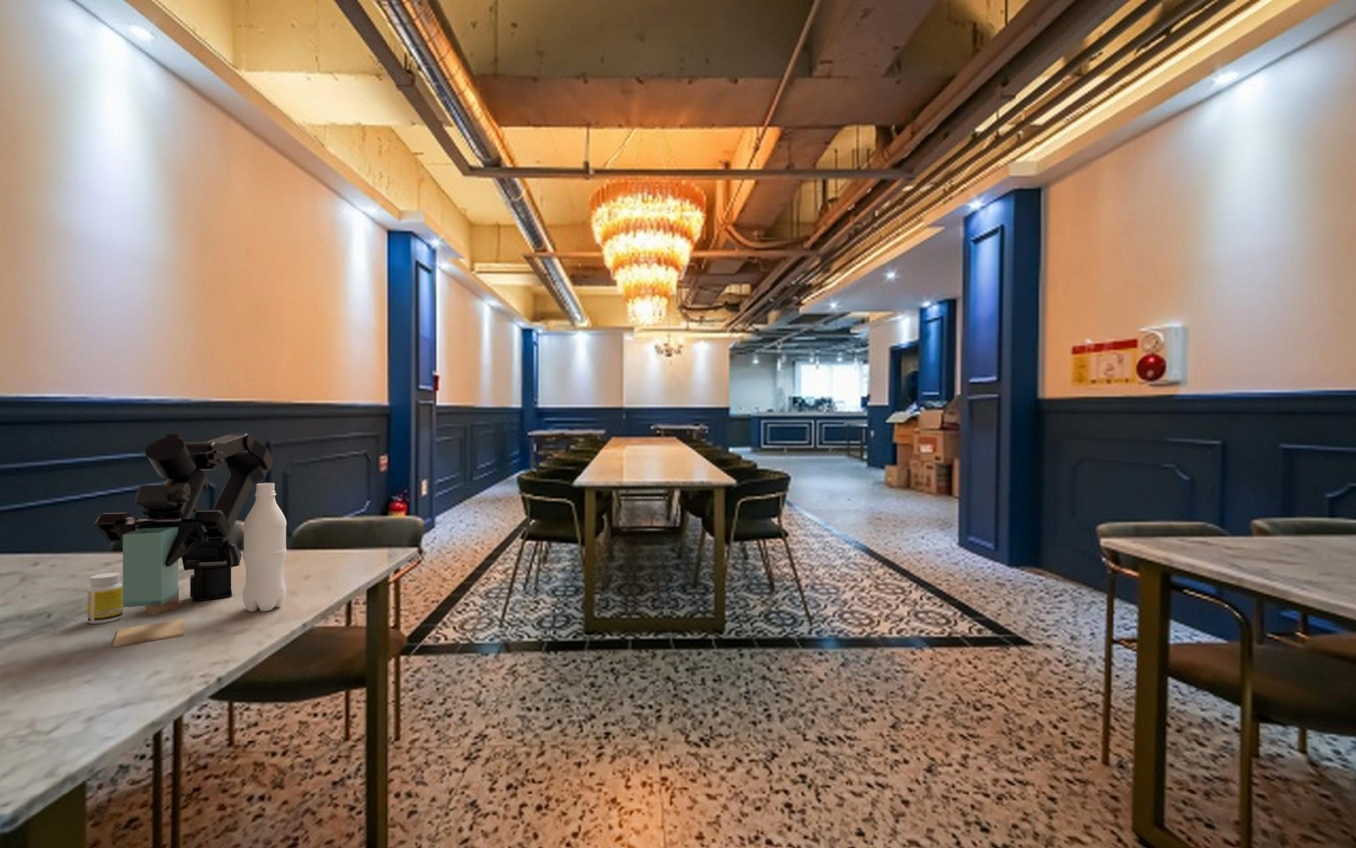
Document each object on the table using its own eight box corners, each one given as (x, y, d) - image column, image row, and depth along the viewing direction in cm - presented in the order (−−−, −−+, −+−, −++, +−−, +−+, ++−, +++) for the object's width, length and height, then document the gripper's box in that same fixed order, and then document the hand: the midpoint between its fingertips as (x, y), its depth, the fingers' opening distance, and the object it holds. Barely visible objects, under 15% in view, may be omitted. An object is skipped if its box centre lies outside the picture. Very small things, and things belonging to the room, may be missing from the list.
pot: (141, 597, 108) (141, 528, 108) (178, 595, 109) (178, 527, 109) (122, 607, 102) (122, 534, 102) (161, 605, 104) (161, 533, 104)
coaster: (184, 621, 112) (184, 619, 112) (183, 635, 105) (183, 633, 105) (118, 631, 106) (118, 629, 106) (113, 647, 99) (113, 644, 99)
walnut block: (170, 605, 122) (170, 585, 122) (178, 608, 119) (178, 588, 119) (145, 610, 118) (145, 590, 118) (153, 614, 116) (153, 593, 116)
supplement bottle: (129, 616, 114) (129, 572, 114) (103, 625, 110) (103, 579, 110) (106, 615, 115) (107, 571, 115) (80, 623, 110) (80, 578, 110)
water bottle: (264, 615, 116) (264, 486, 116) (233, 612, 118) (234, 485, 117) (294, 604, 123) (295, 482, 123) (265, 601, 125) (266, 481, 124)
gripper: (100, 468, 107) (56, 543, 96) (223, 467, 112) (193, 538, 101) (128, 505, 114) (89, 578, 104) (241, 502, 119) (215, 572, 109)
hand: (146, 566), depth 104 cm, fingers closed on pot, 5 cm apart
